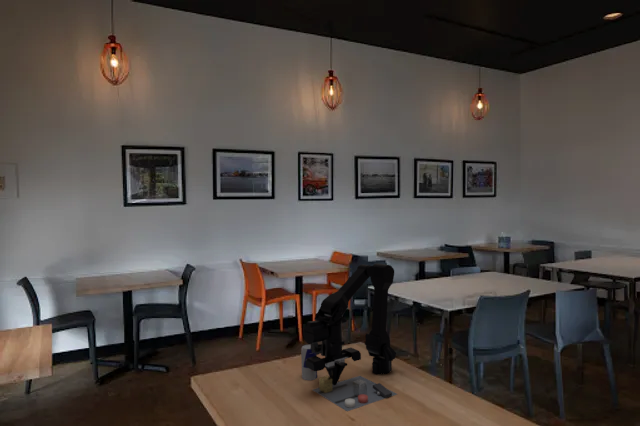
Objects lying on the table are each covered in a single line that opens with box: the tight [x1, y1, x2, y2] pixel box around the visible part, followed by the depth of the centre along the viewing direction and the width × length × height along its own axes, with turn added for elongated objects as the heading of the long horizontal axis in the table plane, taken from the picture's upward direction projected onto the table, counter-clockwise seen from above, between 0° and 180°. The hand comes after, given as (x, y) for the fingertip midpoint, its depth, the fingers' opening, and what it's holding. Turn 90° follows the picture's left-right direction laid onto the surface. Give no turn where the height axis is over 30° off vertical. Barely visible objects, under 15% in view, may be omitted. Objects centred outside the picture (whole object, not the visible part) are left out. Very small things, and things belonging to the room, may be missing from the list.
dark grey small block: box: [373, 382, 393, 399], centre depth 143 cm, size 4×6×2 cm, turn 33°
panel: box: [312, 375, 398, 412], centre depth 146 cm, size 20×19×3 cm
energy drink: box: [300, 344, 318, 381], centre depth 159 cm, size 5×5×12 cm
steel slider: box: [353, 379, 367, 396], centre depth 143 cm, size 3×3×4 cm
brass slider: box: [318, 375, 332, 393], centre depth 147 cm, size 3×3×4 cm
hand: (334, 384), depth 149 cm, fingers closed
